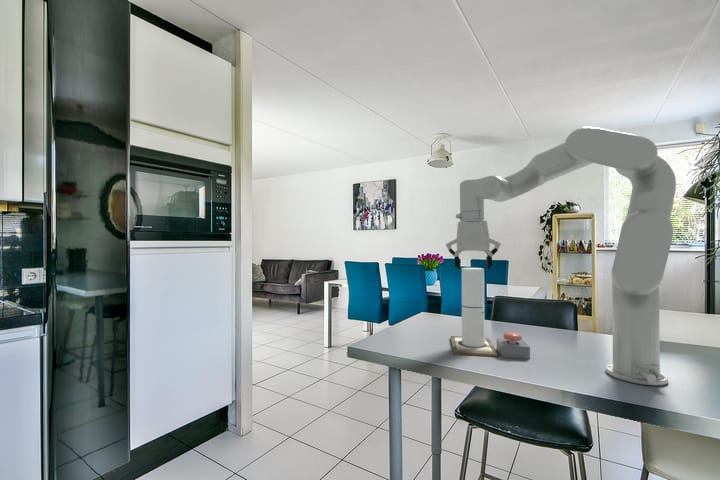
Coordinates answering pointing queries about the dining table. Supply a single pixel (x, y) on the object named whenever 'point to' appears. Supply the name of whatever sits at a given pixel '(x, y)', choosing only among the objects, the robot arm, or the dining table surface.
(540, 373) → the dining table surface
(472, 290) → the cylindrical container
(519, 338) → the button
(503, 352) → the button housing
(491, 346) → the sketch board
